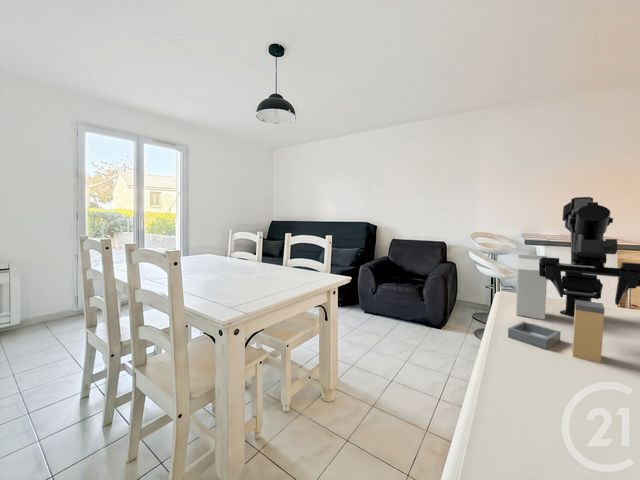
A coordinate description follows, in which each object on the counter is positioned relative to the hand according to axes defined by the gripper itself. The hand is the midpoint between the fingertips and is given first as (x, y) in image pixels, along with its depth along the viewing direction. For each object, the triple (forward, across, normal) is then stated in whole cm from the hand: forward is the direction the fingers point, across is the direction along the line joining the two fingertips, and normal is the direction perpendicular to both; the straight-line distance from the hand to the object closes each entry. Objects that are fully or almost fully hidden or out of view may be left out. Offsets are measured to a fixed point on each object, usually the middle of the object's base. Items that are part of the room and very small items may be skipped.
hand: (588, 300), depth 63 cm
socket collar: (+9, -10, +8) cm, 15 cm away
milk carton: (-6, -12, +23) cm, 26 cm away
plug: (+11, 0, +6) cm, 12 cm away
